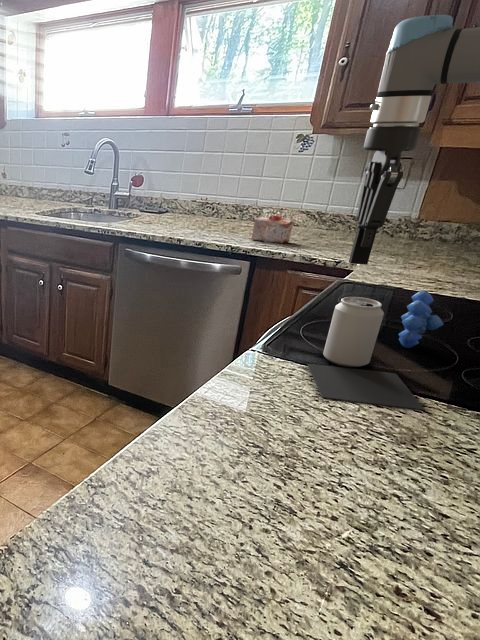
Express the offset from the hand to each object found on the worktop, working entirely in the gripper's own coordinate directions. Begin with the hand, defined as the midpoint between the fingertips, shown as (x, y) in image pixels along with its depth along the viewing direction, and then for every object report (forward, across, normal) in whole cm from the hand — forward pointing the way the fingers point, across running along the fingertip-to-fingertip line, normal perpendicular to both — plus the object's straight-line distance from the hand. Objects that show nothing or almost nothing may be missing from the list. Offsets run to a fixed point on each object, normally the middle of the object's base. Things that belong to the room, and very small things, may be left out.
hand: (357, 263), depth 98 cm
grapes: (+17, -4, +14) cm, 23 cm away
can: (+17, +7, 0) cm, 19 cm away
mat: (+17, +18, 0) cm, 25 cm away
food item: (+18, -114, 0) cm, 115 cm away
